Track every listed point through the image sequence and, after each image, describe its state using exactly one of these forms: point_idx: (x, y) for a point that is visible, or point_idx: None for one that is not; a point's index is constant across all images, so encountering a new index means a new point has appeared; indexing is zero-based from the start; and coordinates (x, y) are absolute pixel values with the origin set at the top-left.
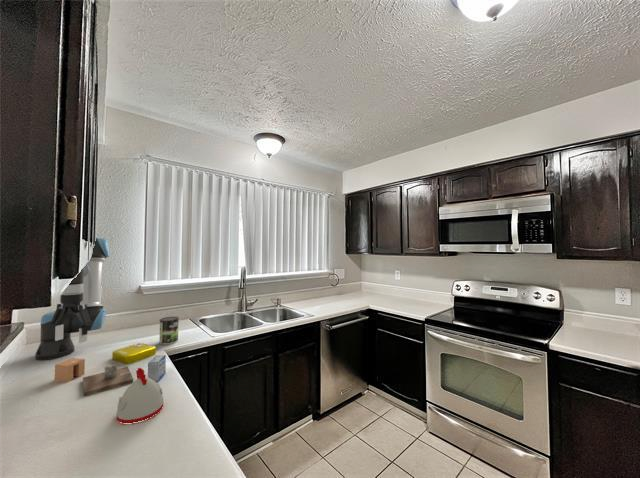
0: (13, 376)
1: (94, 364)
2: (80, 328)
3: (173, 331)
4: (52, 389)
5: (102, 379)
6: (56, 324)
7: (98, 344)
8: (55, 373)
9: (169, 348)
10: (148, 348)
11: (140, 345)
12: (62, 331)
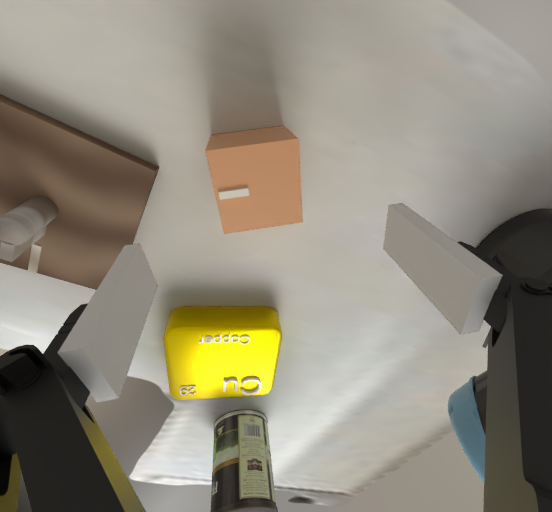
0: (503, 82)
1: (288, 265)
2: (17, 348)
3: (213, 467)
4: (187, 63)
5: (49, 192)
6: (511, 295)
7: (439, 344)
8: (284, 130)
9: (182, 406)
10: (178, 385)
11: (234, 386)
12: (417, 279)
